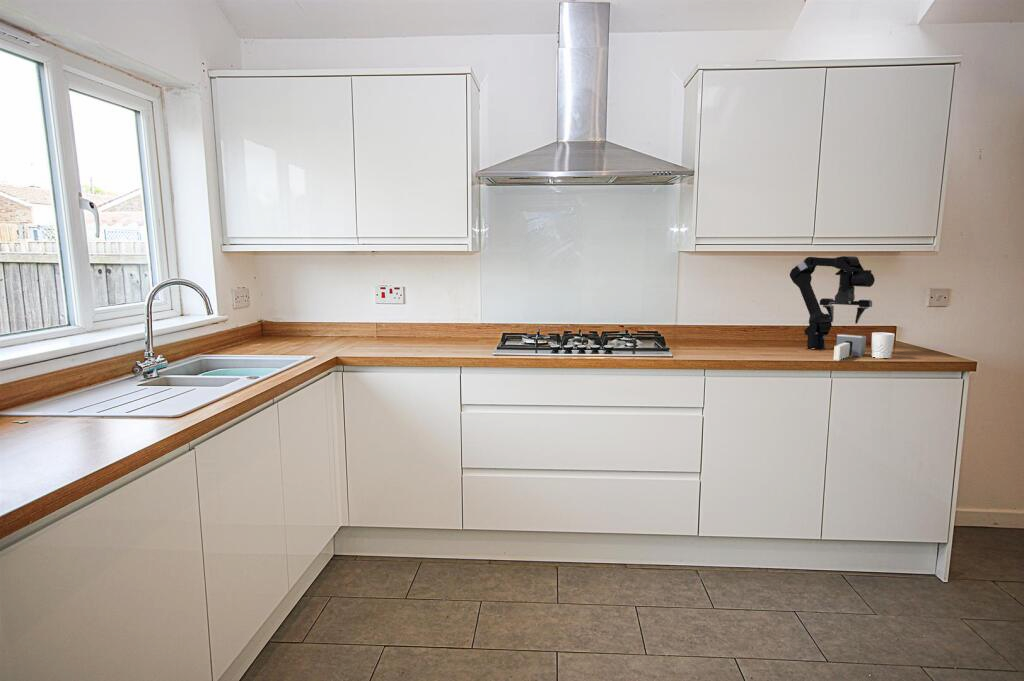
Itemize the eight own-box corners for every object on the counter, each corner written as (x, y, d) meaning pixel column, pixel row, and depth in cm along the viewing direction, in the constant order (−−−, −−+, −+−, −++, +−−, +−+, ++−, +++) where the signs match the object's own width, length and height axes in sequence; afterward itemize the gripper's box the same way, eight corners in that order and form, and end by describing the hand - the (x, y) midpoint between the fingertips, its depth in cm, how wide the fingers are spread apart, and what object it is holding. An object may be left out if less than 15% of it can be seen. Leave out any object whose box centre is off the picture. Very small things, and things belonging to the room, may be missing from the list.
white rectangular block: (843, 355, 239) (844, 342, 239) (848, 356, 238) (850, 342, 237) (833, 360, 229) (834, 346, 228) (839, 360, 227) (840, 346, 226)
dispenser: (840, 352, 249) (842, 332, 248) (864, 355, 243) (866, 334, 242) (835, 354, 244) (837, 334, 243) (860, 357, 238) (861, 336, 236)
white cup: (869, 358, 236) (871, 333, 234) (870, 355, 242) (872, 331, 241) (892, 359, 231) (894, 335, 230) (892, 357, 238) (894, 333, 237)
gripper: (817, 286, 245) (814, 322, 247) (867, 287, 232) (864, 326, 235) (824, 285, 253) (822, 321, 255) (873, 286, 241) (870, 324, 243)
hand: (843, 322), depth 247 cm, fingers open, 9 cm apart
